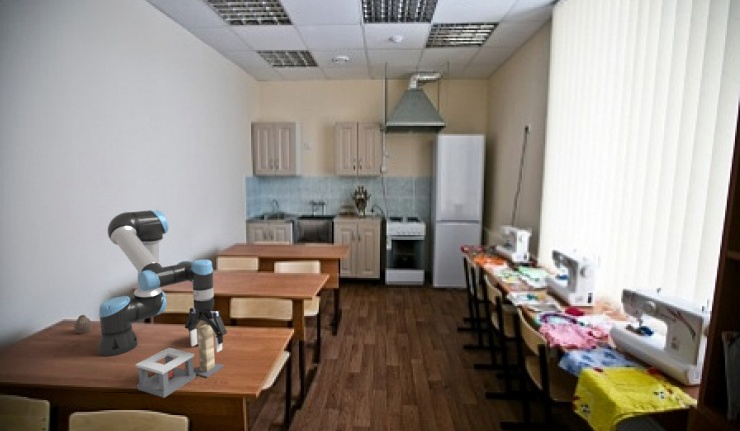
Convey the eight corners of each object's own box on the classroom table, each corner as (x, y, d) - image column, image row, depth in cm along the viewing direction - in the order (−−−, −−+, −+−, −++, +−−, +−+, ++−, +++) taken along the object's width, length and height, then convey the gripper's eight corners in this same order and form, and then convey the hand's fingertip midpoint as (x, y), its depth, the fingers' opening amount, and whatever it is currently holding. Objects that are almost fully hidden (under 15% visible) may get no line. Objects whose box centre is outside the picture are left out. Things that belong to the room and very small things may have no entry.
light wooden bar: (199, 370, 145) (197, 328, 143) (207, 365, 149) (205, 324, 147) (207, 371, 144) (205, 329, 142) (214, 367, 148) (212, 325, 146)
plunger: (158, 383, 136) (157, 370, 135) (168, 377, 140) (167, 365, 139) (166, 386, 134) (165, 373, 134) (176, 380, 138) (175, 367, 138)
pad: (190, 373, 144) (190, 371, 144) (208, 362, 152) (207, 361, 152) (207, 377, 141) (207, 376, 141) (224, 366, 149) (224, 365, 149)
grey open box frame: (137, 389, 133) (135, 364, 132) (170, 370, 146) (169, 347, 145) (164, 397, 128) (162, 371, 127) (195, 377, 141) (194, 353, 140)
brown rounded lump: (71, 334, 180) (69, 318, 179) (84, 328, 186) (82, 312, 185) (82, 335, 178) (81, 318, 178) (95, 329, 185) (93, 313, 184)
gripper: (173, 297, 144) (176, 346, 147) (220, 305, 135) (223, 357, 137) (188, 291, 151) (191, 338, 153) (234, 299, 142) (236, 349, 144)
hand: (206, 347), depth 145 cm, fingers open, 13 cm apart
